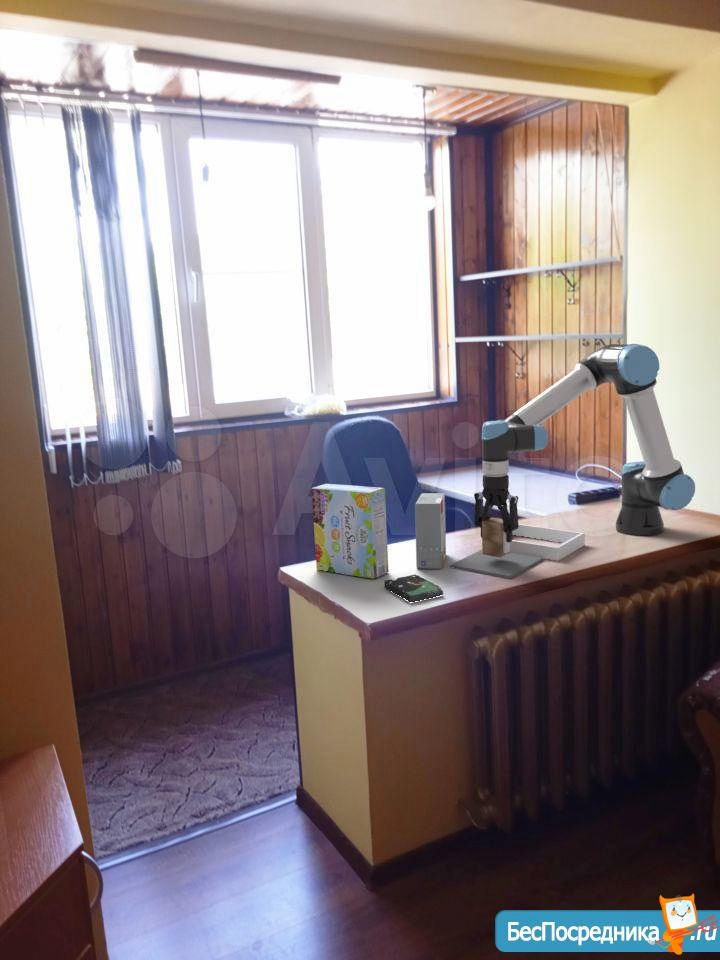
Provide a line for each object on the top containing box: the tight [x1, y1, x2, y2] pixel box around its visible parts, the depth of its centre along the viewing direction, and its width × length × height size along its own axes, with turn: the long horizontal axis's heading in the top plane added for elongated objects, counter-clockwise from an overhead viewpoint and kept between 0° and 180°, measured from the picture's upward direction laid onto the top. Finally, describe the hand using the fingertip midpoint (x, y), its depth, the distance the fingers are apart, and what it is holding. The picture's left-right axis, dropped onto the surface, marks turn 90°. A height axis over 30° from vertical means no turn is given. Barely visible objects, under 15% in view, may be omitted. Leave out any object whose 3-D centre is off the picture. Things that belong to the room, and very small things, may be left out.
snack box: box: [310, 483, 390, 580], centre depth 225 cm, size 22×9×26 cm, turn 56°
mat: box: [449, 549, 544, 580], centre depth 227 cm, size 20×20×1 cm
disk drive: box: [383, 574, 444, 602], centre depth 207 cm, size 10×3×15 cm
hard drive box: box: [414, 492, 447, 570], centre depth 231 cm, size 16×8×20 cm, turn 168°
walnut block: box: [481, 516, 511, 557], centre depth 225 cm, size 6×6×10 cm
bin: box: [510, 523, 586, 562], centre depth 242 cm, size 26×19×4 cm
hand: (496, 550), depth 226 cm, fingers closed on walnut block, 6 cm apart
